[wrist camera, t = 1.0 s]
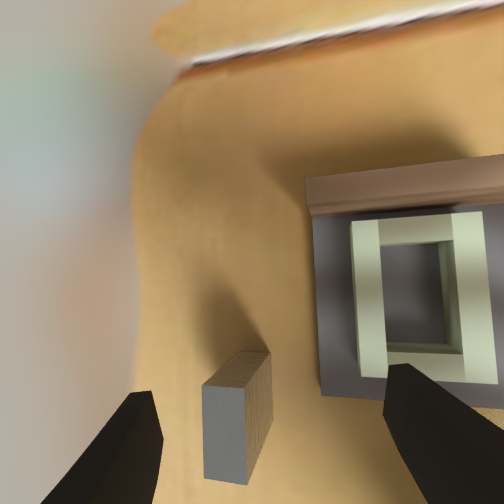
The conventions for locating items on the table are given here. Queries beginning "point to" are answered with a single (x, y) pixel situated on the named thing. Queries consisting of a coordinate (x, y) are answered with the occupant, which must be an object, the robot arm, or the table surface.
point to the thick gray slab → (236, 416)
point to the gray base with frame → (411, 277)
